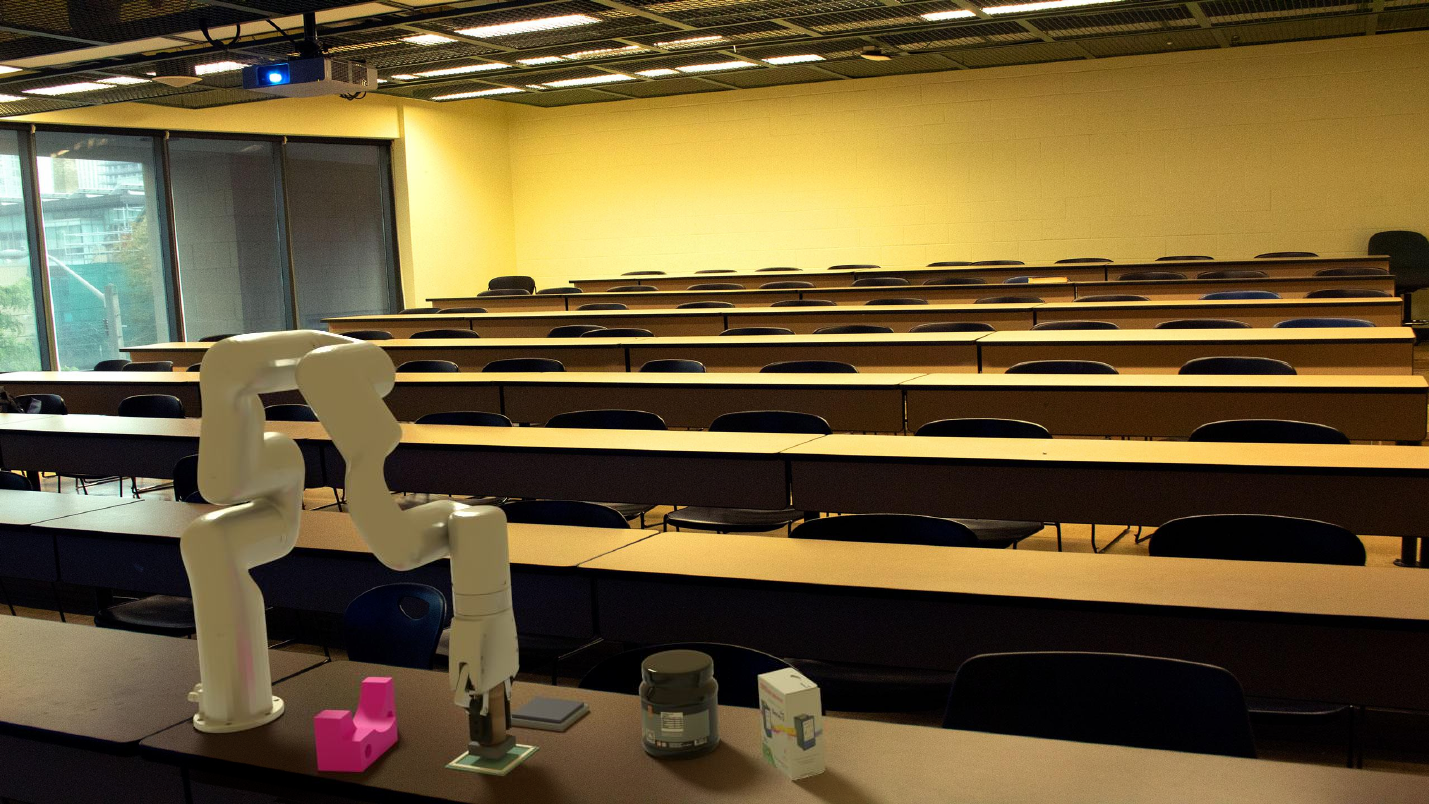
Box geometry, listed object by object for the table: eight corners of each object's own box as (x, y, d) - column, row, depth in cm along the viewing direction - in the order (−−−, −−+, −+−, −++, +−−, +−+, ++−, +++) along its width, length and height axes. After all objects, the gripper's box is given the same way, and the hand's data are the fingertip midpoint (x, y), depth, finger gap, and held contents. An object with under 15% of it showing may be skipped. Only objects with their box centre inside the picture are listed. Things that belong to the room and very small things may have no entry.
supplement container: (698, 725, 159) (694, 643, 157) (734, 752, 149) (730, 664, 148) (629, 742, 154) (625, 657, 153) (662, 771, 145) (657, 680, 143)
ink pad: (507, 724, 162) (506, 714, 161) (536, 704, 169) (535, 694, 169) (561, 732, 158) (561, 721, 158) (589, 710, 166) (588, 701, 165)
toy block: (362, 774, 148) (358, 719, 147) (318, 772, 149) (313, 717, 148) (412, 728, 162) (408, 678, 162) (372, 726, 164) (368, 676, 163)
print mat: (444, 768, 148) (444, 765, 148) (483, 741, 156) (483, 738, 156) (503, 777, 144) (503, 774, 144) (539, 749, 153) (539, 745, 153)
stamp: (468, 755, 149) (463, 678, 148) (487, 741, 153) (483, 666, 152) (497, 759, 147) (493, 682, 146) (516, 745, 151) (511, 670, 150)
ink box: (826, 777, 141) (823, 686, 140) (789, 786, 139) (786, 693, 138) (794, 751, 149) (792, 665, 148) (759, 759, 147) (756, 672, 146)
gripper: (493, 582, 157) (501, 708, 159) (419, 617, 142) (429, 757, 144) (540, 585, 154) (547, 714, 156) (470, 622, 139) (479, 764, 141)
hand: (491, 733), depth 150 cm, fingers closed on stamp, 3 cm apart
